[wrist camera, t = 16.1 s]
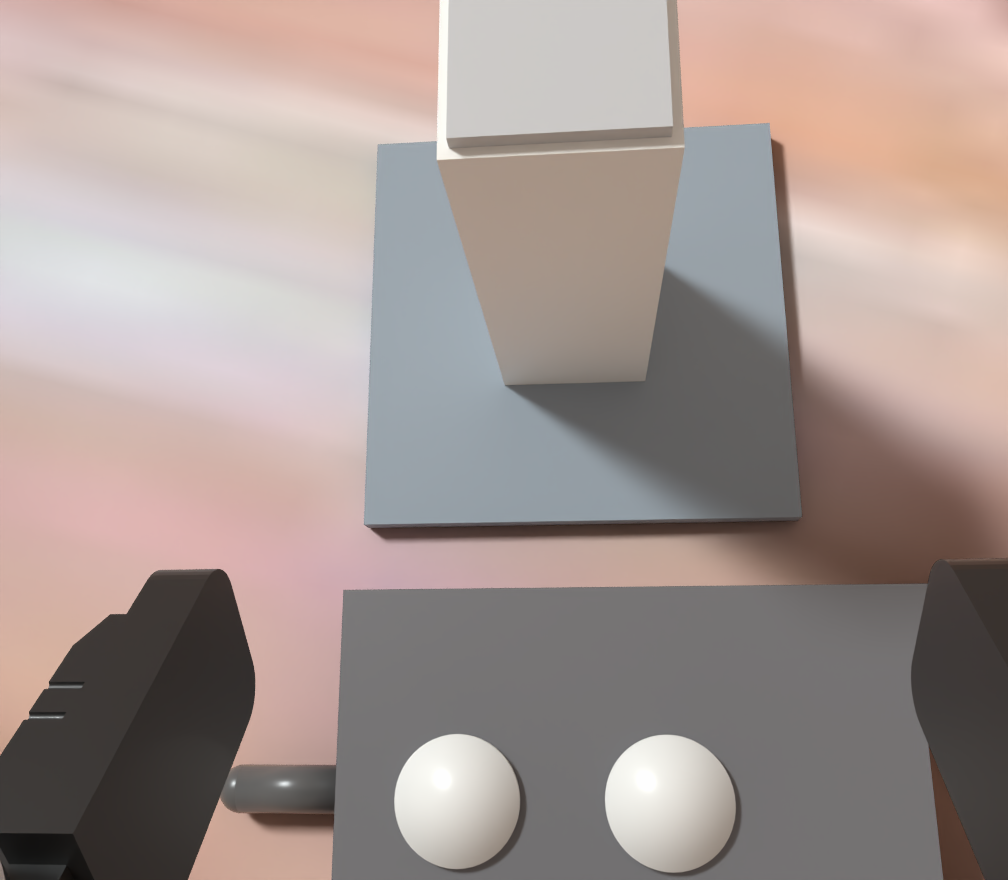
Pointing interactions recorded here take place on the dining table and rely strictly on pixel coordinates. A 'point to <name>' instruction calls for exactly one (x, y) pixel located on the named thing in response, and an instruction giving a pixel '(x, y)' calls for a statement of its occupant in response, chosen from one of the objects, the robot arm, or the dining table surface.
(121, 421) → the dining table surface
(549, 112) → the white tall rectangular block
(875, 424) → the dining table surface
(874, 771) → the power strip
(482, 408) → the mat
